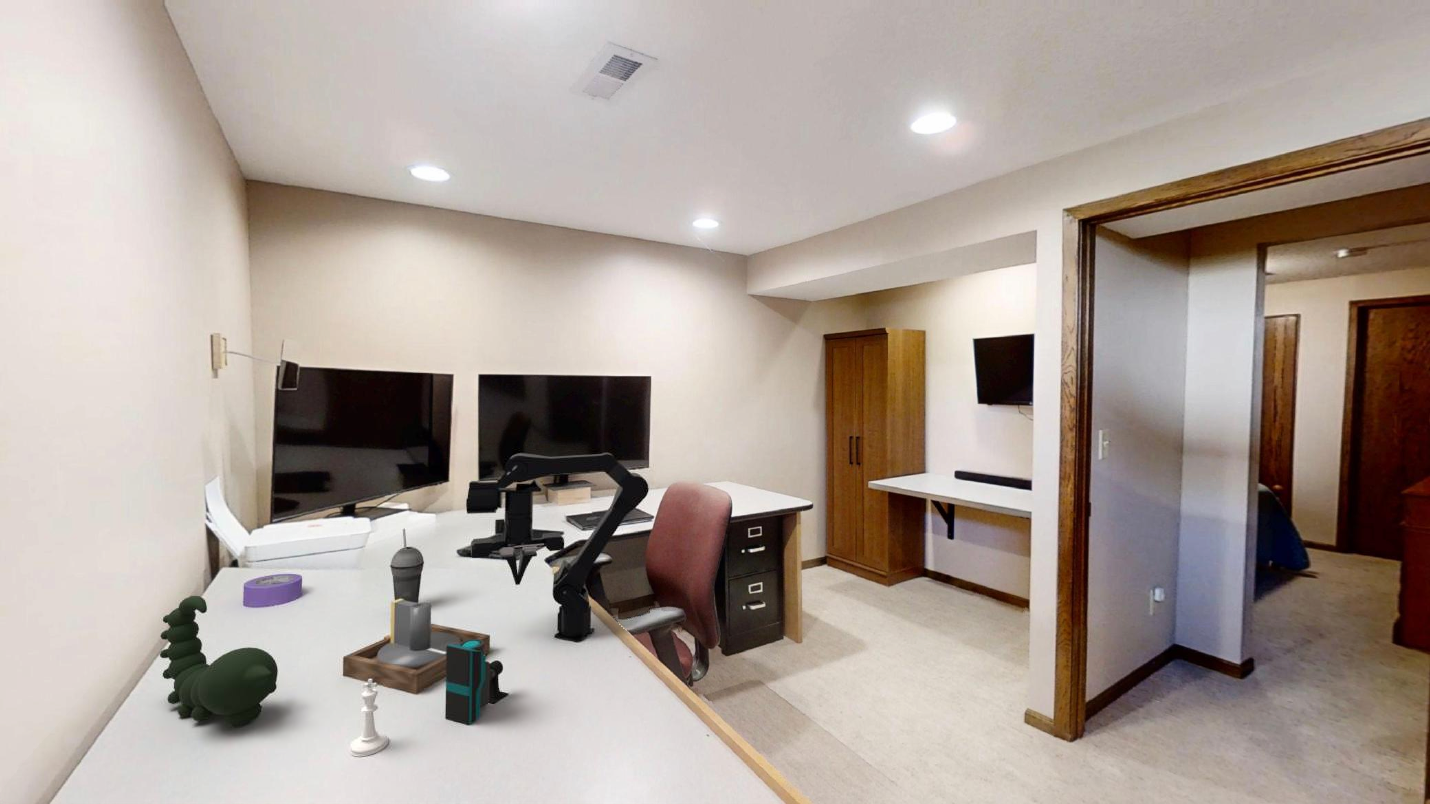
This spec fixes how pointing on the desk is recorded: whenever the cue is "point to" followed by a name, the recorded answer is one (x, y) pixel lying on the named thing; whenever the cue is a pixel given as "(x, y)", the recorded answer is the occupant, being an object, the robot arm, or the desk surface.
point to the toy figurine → (214, 672)
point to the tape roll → (272, 590)
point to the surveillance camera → (470, 681)
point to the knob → (414, 637)
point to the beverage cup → (407, 572)
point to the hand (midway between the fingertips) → (517, 584)
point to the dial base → (399, 677)
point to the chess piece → (369, 727)
